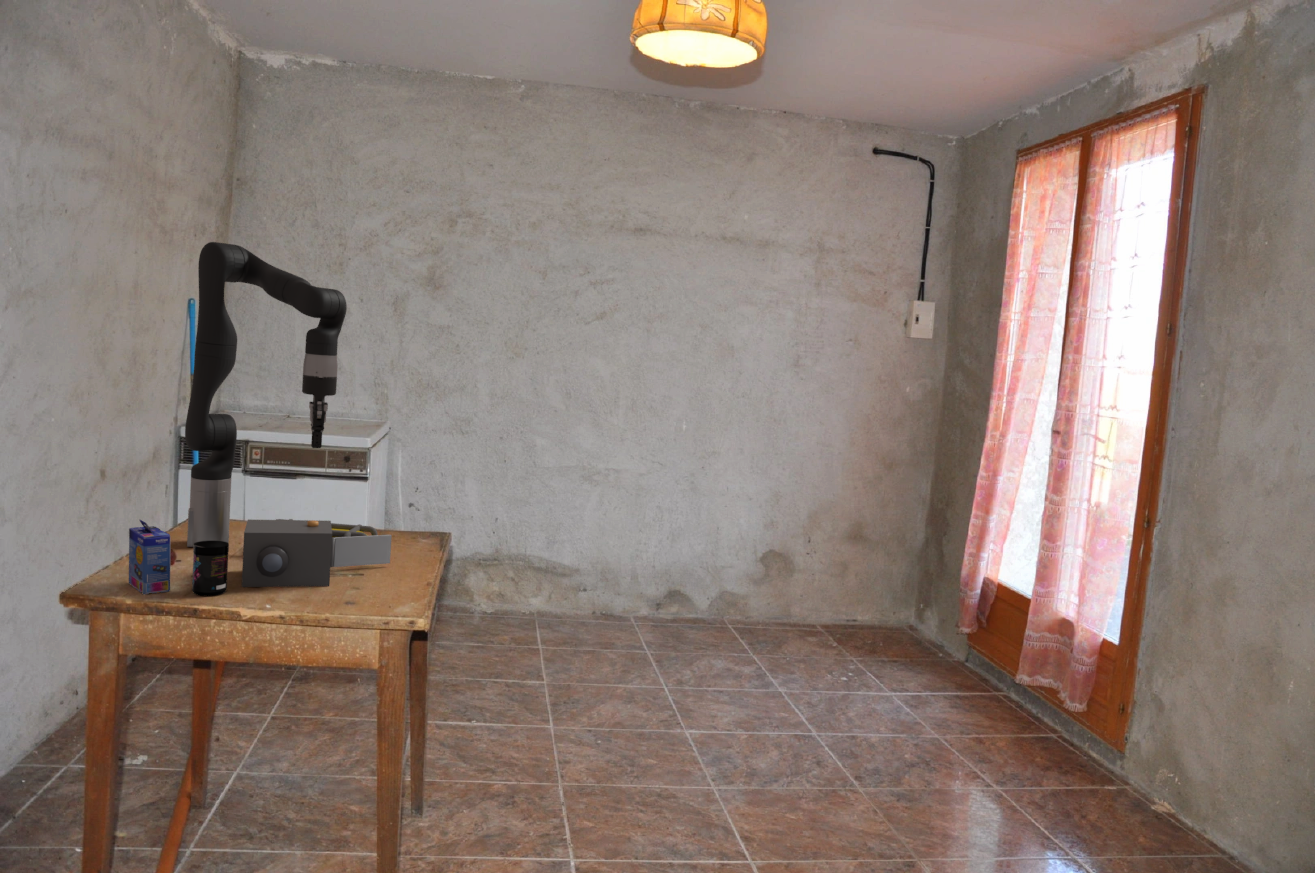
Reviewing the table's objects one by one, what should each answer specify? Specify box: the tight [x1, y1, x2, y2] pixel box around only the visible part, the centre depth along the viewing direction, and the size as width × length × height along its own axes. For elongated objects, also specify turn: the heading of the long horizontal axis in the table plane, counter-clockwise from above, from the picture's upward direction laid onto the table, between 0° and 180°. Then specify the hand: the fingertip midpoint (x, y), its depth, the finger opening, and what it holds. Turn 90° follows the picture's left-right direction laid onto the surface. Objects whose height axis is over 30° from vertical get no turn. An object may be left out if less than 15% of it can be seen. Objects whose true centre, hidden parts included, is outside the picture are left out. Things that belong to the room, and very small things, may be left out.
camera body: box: [241, 519, 332, 588], centre depth 212 cm, size 18×17×13 cm
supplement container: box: [191, 541, 230, 597], centre depth 198 cm, size 7×7×10 cm
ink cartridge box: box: [128, 519, 171, 595], centre depth 198 cm, size 10×6×14 cm, turn 46°
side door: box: [330, 534, 392, 568], centre depth 228 cm, size 1×14×7 cm, turn 125°
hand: (316, 447), depth 222 cm, fingers closed
